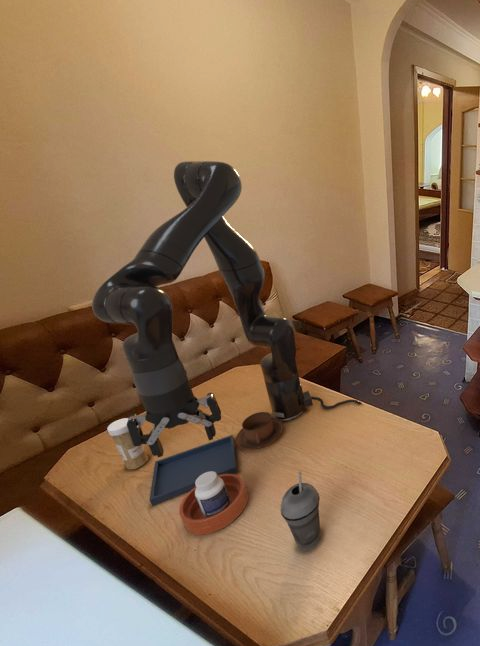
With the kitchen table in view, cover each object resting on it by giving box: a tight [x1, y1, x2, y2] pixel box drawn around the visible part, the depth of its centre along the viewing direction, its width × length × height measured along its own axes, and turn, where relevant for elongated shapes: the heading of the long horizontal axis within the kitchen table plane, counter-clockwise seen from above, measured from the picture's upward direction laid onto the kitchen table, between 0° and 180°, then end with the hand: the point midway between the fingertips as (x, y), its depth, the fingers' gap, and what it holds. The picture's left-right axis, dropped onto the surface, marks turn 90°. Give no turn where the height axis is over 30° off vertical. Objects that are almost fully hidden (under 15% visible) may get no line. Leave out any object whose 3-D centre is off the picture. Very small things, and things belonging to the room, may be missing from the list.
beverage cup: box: [280, 471, 321, 552], centre depth 73 cm, size 7×7×20 cm
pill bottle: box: [195, 471, 230, 518], centre depth 80 cm, size 5×5×10 cm
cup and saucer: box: [235, 411, 284, 450], centre depth 102 cm, size 12×12×6 cm
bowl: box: [178, 473, 249, 536], centre depth 82 cm, size 12×12×4 cm
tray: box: [149, 434, 239, 507], centre depth 92 cm, size 17×13×2 cm
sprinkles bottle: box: [106, 417, 149, 470], centre depth 91 cm, size 5×5×14 cm
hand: (187, 445), depth 75 cm, fingers open, 8 cm apart
